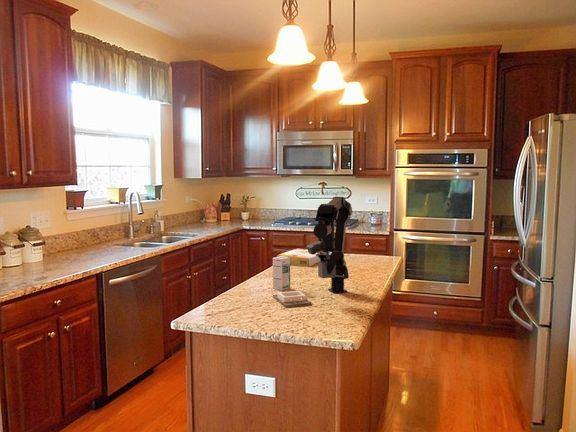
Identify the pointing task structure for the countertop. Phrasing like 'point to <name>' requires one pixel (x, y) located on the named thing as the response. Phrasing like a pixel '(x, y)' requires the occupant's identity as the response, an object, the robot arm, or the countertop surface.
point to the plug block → (325, 270)
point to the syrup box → (281, 273)
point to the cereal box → (300, 257)
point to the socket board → (292, 299)
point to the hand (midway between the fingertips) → (327, 272)
